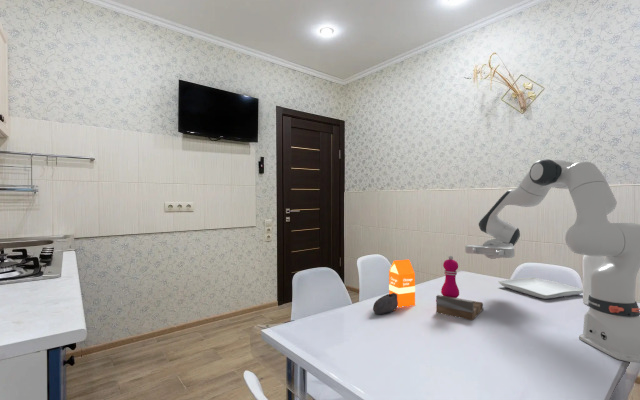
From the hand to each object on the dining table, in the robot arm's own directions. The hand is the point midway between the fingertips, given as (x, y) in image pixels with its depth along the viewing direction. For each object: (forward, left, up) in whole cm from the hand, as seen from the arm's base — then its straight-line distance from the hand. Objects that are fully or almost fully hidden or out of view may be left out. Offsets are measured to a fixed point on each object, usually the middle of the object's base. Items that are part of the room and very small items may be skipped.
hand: (485, 252), depth 144 cm
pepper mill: (-9, +17, -21) cm, 28 cm away
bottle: (+11, -47, -24) cm, 54 cm away
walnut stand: (-10, +13, -24) cm, 29 cm away
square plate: (+30, -33, -25) cm, 51 cm away
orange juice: (-4, +37, -24) cm, 44 cm away
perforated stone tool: (-17, +44, -24) cm, 53 cm away
